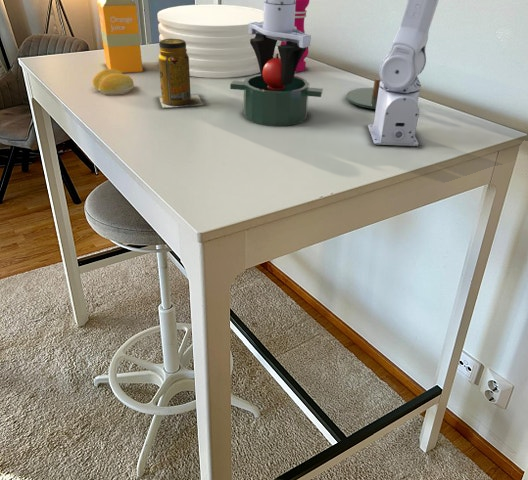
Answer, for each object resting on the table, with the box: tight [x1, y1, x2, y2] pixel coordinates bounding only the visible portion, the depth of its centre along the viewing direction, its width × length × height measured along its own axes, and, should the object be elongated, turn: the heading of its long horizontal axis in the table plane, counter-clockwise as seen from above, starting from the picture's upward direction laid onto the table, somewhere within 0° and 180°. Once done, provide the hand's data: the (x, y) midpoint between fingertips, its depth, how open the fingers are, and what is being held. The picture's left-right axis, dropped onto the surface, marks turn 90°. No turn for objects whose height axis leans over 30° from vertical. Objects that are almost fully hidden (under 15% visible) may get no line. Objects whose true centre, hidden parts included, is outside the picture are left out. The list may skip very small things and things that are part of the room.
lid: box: [345, 76, 381, 110], centre depth 118 cm, size 14×14×5 cm
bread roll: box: [92, 68, 134, 96], centre depth 120 cm, size 8×9×4 cm
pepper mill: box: [280, 0, 310, 73], centre depth 133 cm, size 7×7×20 cm
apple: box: [263, 52, 285, 90], centre depth 105 cm, size 6×6×6 cm
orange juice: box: [96, 0, 144, 74], centre depth 130 cm, size 8×9×20 cm
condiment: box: [158, 39, 204, 108], centre depth 112 cm, size 7×8×12 cm
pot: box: [229, 73, 324, 127], centre depth 108 cm, size 13×18×6 cm
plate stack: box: [157, 3, 264, 79], centre depth 138 cm, size 28×28×12 cm
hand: (276, 80), depth 106 cm, fingers closed on apple, 5 cm apart
